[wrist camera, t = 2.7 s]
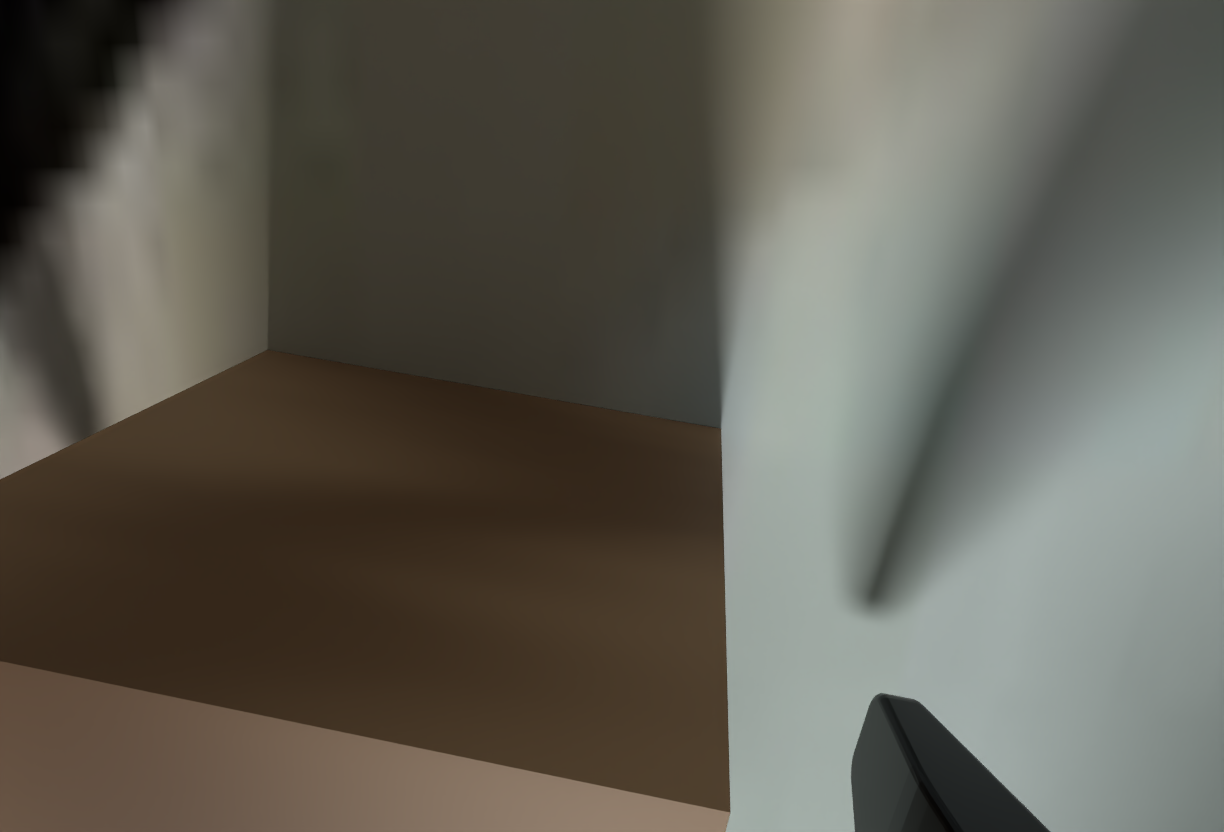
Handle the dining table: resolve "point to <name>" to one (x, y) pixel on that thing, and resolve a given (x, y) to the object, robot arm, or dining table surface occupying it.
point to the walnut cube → (365, 614)
